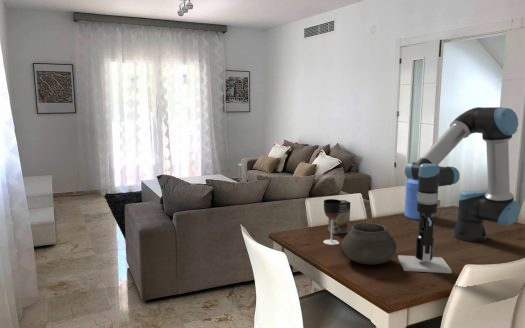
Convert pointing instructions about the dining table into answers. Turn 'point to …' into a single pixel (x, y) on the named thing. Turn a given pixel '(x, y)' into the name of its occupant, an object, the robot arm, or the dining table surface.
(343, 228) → the coffee box
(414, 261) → the stone board
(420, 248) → the supplement bottle
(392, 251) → the clay pot
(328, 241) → the wineglass
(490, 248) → the dining table surface
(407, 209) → the water jug
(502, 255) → the dining table surface
